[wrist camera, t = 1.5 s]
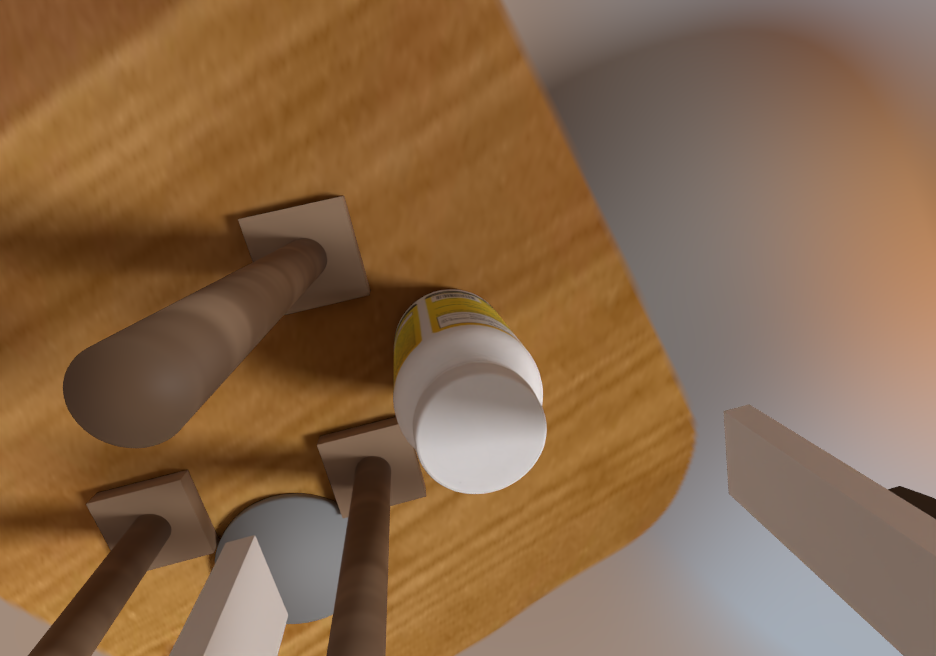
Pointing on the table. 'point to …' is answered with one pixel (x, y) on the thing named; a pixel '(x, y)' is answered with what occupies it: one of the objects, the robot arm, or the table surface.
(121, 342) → the post
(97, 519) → the post
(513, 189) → the table surface
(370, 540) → the post corner
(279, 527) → the coaster
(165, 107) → the table surface
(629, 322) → the table surface
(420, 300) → the pill bottle
